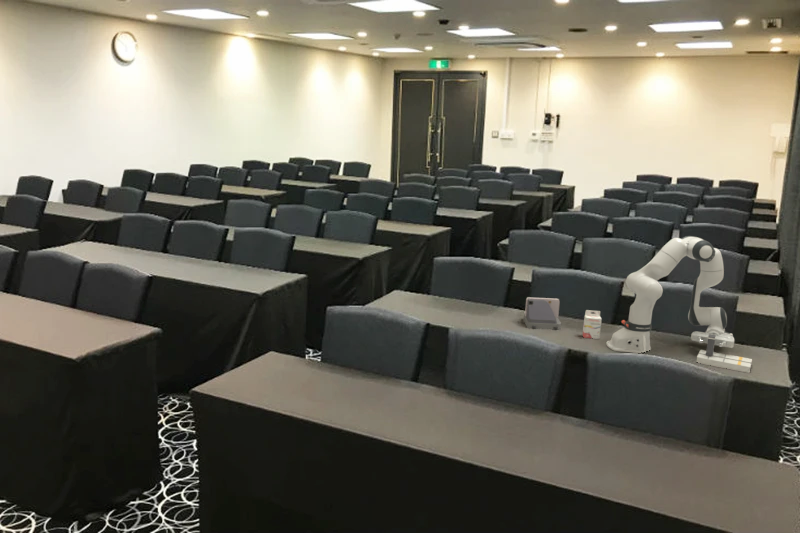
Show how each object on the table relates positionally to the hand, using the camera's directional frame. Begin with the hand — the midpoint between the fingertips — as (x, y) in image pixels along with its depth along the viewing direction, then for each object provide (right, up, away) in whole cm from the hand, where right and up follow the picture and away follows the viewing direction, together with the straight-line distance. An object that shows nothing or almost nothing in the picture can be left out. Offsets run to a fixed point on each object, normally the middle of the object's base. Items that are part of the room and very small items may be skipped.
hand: (710, 343), depth 346 cm
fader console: (+6, -10, -2) cm, 11 cm away
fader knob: (-1, -8, +1) cm, 8 cm away
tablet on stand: (-75, +5, +51) cm, 91 cm away
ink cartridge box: (-52, 0, +32) cm, 60 cm away
